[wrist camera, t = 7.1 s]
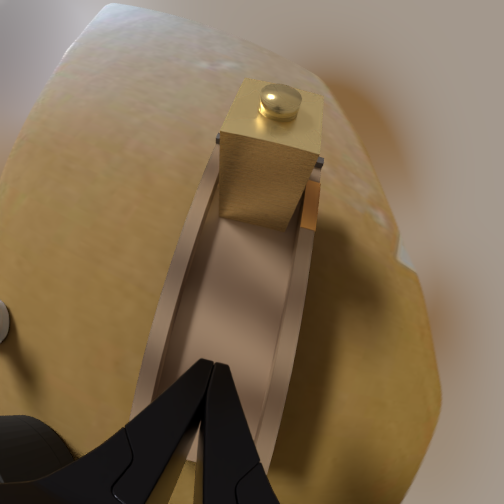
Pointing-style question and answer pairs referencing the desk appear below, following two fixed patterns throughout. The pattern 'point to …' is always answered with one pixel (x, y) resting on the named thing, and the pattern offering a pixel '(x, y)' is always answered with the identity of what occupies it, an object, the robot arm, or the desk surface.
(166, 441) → the robot arm
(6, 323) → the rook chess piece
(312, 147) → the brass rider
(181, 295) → the balance beam
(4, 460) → the pen holder
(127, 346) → the desk surface
